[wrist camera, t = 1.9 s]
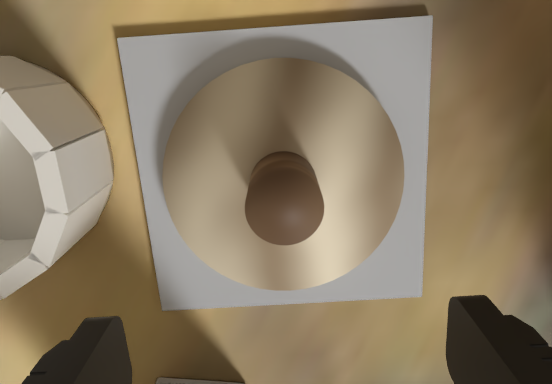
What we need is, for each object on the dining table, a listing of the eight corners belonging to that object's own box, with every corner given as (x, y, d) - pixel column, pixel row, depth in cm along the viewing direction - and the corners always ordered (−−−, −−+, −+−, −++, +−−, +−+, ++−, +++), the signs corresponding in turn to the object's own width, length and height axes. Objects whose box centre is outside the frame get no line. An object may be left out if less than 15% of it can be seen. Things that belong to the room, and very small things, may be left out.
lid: (401, 48, 22) (435, 47, 18) (397, 275, 26) (424, 324, 21) (150, 66, 23) (115, 70, 18) (183, 288, 27) (162, 339, 22)
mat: (429, 16, 22) (432, 15, 22) (419, 292, 27) (421, 296, 27) (120, 38, 23) (116, 38, 22) (164, 306, 28) (162, 310, 27)
